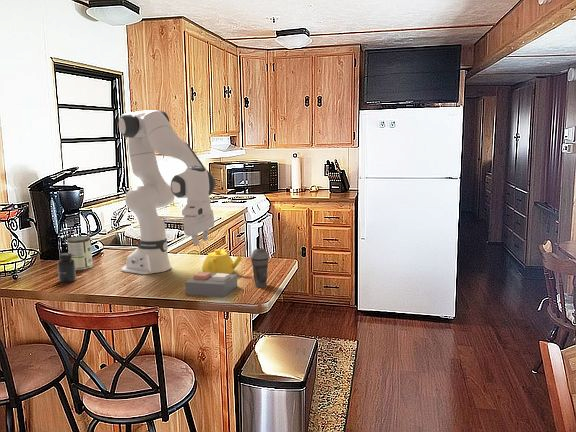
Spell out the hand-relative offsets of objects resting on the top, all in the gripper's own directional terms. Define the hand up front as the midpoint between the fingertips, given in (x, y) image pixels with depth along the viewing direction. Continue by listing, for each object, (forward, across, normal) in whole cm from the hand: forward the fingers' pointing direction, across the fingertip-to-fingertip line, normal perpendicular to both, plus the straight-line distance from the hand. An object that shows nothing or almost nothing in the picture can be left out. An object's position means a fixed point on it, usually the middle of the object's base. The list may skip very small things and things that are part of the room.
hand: (200, 242), depth 206 cm
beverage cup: (+20, -10, +21) cm, 30 cm away
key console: (+19, 0, +4) cm, 20 cm away
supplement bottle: (+19, +1, -63) cm, 66 cm away
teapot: (+20, -23, -1) cm, 30 cm away
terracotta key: (+15, 0, 0) cm, 15 cm away
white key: (+15, 0, +8) cm, 17 cm away
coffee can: (+19, -20, -72) cm, 77 cm away
